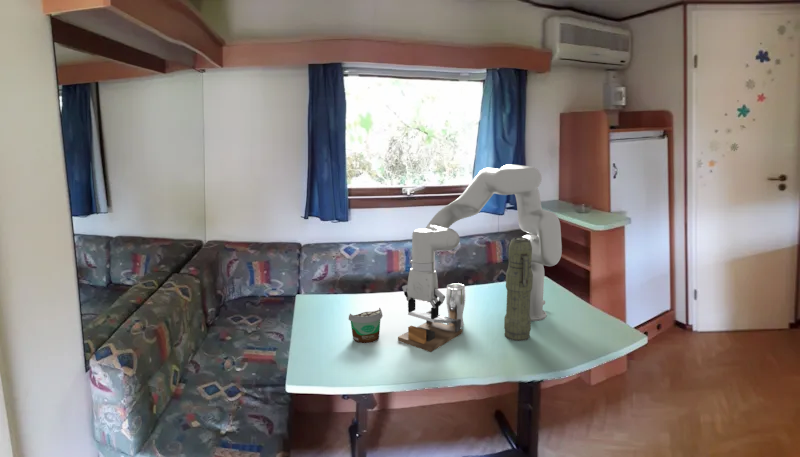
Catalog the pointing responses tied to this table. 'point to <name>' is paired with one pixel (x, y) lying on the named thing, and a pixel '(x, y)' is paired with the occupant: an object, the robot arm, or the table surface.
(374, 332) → the food container
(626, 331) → the table surface
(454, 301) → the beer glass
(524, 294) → the thermos
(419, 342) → the plate
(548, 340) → the table surface
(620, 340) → the table surface
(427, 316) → the grey marble tile
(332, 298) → the table surface
